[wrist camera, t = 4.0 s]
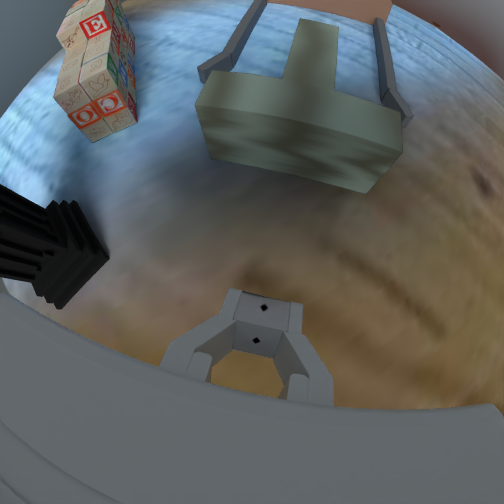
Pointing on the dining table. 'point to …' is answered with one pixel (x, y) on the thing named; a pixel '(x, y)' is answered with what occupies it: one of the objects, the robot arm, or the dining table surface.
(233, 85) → the T block
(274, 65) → the dining table surface
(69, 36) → the stack of blocks
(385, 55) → the bay
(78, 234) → the chess piece
